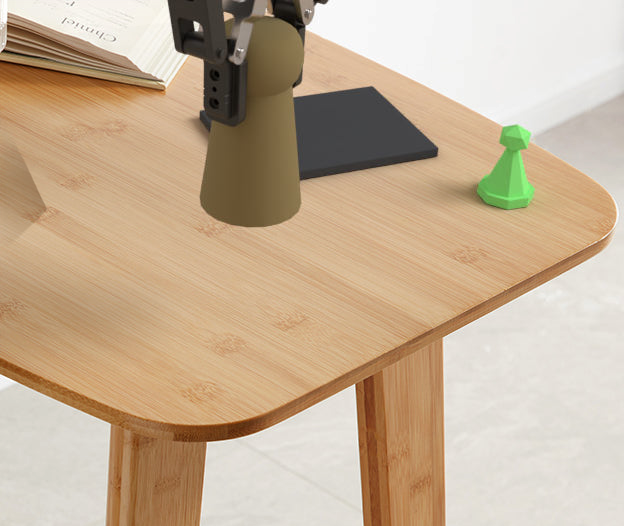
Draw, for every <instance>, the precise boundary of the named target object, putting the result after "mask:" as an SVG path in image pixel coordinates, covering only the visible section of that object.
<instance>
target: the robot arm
mask: <svg viewBox="0 0 624 526" xmlns="http://www.w3.org/2000/svg"><path fill="white" fill-rule="evenodd" d="M166 1H167V6H168V14H169V19H170V20H169V21H170V26H171V33H172V40H173V44H174V49H175V51H176V52H177V53H179V54H182V55H185V56H187V55H188V56H191V57H194V58H197V59H200V60H202V61H203V91H202V93H203V97H202V99H203V100H202V101H203V102H202V103H203V105H202V106H203V110H205V113H206V115H207V117H208V118H209V119H211V120H213V121H216V122H219V123H222V124H225V125H227V126H230V127H235V126H237V125H238V124H240V123H242V122H243V121H244V120H245V117H246V90H247V60H244V59H245V57H246V54H247V50H248V45H249V41H250V37H251V33H252V28H253V24H254V23H255V22H256V21H258V20H261V19H262V18H263V17H264V16H265V15H266V13H267V14H269V15H271V17H275V18H278V19H281V20H283V21H285V22H287V23H289V24H290V25H292V26H293V27H294V28H295V29H296V30H297V31H298V33H299V35H300V37H301V39H302V42H303V47H304V48H305V42H306V27H307V26H309V25H310V24H311V22H313V19H314V16H315V7H316V5H317V4H321V5H326V4H328V2H329V1H330V0H166ZM224 13H227V14H229V15H231V16H232V18H234V23H233V27H232V32H231V36H230V37H227V36H226V30H225V22H224V21H225V14H224ZM195 23H198V24H199V25H198V30H196V28H195ZM303 74H304V66H303V67H302V70H301V73H300V75H299V77H298V79H297V80H296V82H295V83H294V84H293V85H292V87H293V89H295V88H296V87H299V86H300V85H301V84H302V81H303Z"/></svg>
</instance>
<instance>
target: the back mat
mask: <svg viewBox="0 0 624 526" xmlns="http://www.w3.org/2000/svg"><path fill="white" fill-rule="evenodd" d="M293 100H294V113H295V126H296V140H297V153H298V166H299V179H300V181H302V180H308V179H312V178H320V177H324V176H330V175H331V176H332V175H337V174H343V173H348V172H353V171H354V172H355V171H360V170H366V169H371V168H377V167H384V166H389V165H395V164H402V163H407V162H412V161H413V162H414V161H417V160H425V159H430V158H436V157H438V154H439V147H438V146H437V145H436V144H435V143H434V142H433V141H432V140H431V139H430V138H429V137H427V136H426V135H425V133H423V132H422V131H421V130H420V129H419V128H418V127H417V126H416V125H415V124H414V123H412V121H411V120H410V119H408V118H407V117H406V116H405V115H404V114H403V113H402V112H401V111H400V110H399V109H398V108H396V107H395V106H394V105H393V104H392V103H391V102H390V101H389V100H388V99H387V98H386V97H385V96H384V95H383V94H382V93H381V92H380V91H378V90H377V89H376V88H375V87H374V86H373V85H370V86H362V87H355V88H349V89H340V90H335V91H327V92H320V93H314V94H307V95H300V96H293ZM199 120H200V121H201V123H202V124H203V126H204V127H205V128H206V129H207V130H208V132H209V133H210V130H211V123H212V120H211V119H209V118H208V117H207V115H206V113H205V110H204V109H200V110H199Z"/></svg>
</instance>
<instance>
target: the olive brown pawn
mask: <svg viewBox="0 0 624 526" xmlns="http://www.w3.org/2000/svg"><path fill="white" fill-rule="evenodd" d="M224 22H225V30H226V36H227V37H230V36H231V32H232V27H233V23H234V17H230V18H228V19H226V20H224ZM305 55H306V54H305V46H304V47H303V42H302V39H301V37H300V35H299V33H298V31H297V30H296V29H295V28H294V27H293V26H292V25H290V24H289V23H287V22H285V21H283V20H281V19H278V18H275V17H274V16H273V17H272V15H271V16H270V15H264V17H263V18H262V19H261V20H258V21H256V22H255V23H254V24H253V28H252V33H251V37H250V41H249V45H248V50H247V54H246V57H245V59H244V60H247V90H246V117H245V120H244V121H243V122H242V123H240V124H238V125H237V126H235V127H230V126H227V125H225V124H222V123H219V122H216V121H213V120H212V123H211V130H210V132H209V137H208V143H207V149H206V155H205V160H204V167H203V173H202V179H201V186H200V191H199V204H200V207H201V208H202V209H203V210H204V212H205V213H206V215H208V216H210V217H212V218H213V219H214V220H216V221H218V222H221V223H225V224H227V225H229V226H235V227H242V228H267V227H272V226H276V225H280V224H282V223H284V222H287V221H289V220H291V219H293V217H295V216H296V215H297V214H298V213H299V211H300V208H301V206H302V194H301V180H300V179H299V166H298V153H297V140H296V126H295V113H294V100H293V97H294V88H293V87H292V85H293V84H294V83H295V82H296V80H297V79H298V77H299V75H300V73H301V70H302V67H303V68H304V62H305Z"/></svg>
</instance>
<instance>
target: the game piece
mask: <svg viewBox="0 0 624 526" xmlns="http://www.w3.org/2000/svg"><path fill="white" fill-rule="evenodd" d="M531 136H532V132H531V131H529V130H528V129H526V128H524V127H522V126H521V125H519V124H512V125H506V126H502V130H501V132H500V136H499V141H498V144H500V145H501V146H503V147H505V150H504V151H503V152H502V154H501V155H500V157H499V159H498V160H497V162H496V163H495V165H494V167H493V168H492V170H491V172H490V173H489V174H485V175H484V176H483V177H482V178H481V180H480V181H479V182H478V185H477V190H476V193H477V195H478V196H479V197H480V198H481V199H482V200H483V201H484V203H485V204H486V205H489V206H493V207H497V208H500V209H503V210H513V209H514V210H515V209H521V208H527V207H528V206H529V205H530V203H531V201H532V200H533V199H534V195H535V190H536V188H535V187H534V186H533V185H532V184H531V183H530V181H528V177H527V173H526V170H525V165H524V161H523V157H522V152H521V151H523V150H528V147H529V144H530V140H531Z"/></svg>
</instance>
